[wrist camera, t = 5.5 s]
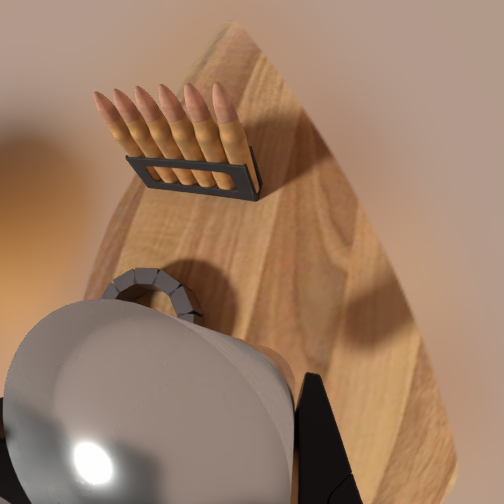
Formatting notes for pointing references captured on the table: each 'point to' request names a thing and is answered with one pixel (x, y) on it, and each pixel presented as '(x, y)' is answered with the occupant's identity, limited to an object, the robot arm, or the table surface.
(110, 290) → the ring
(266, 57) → the table surface
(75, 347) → the silver tall cylinder
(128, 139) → the ammunition clip
